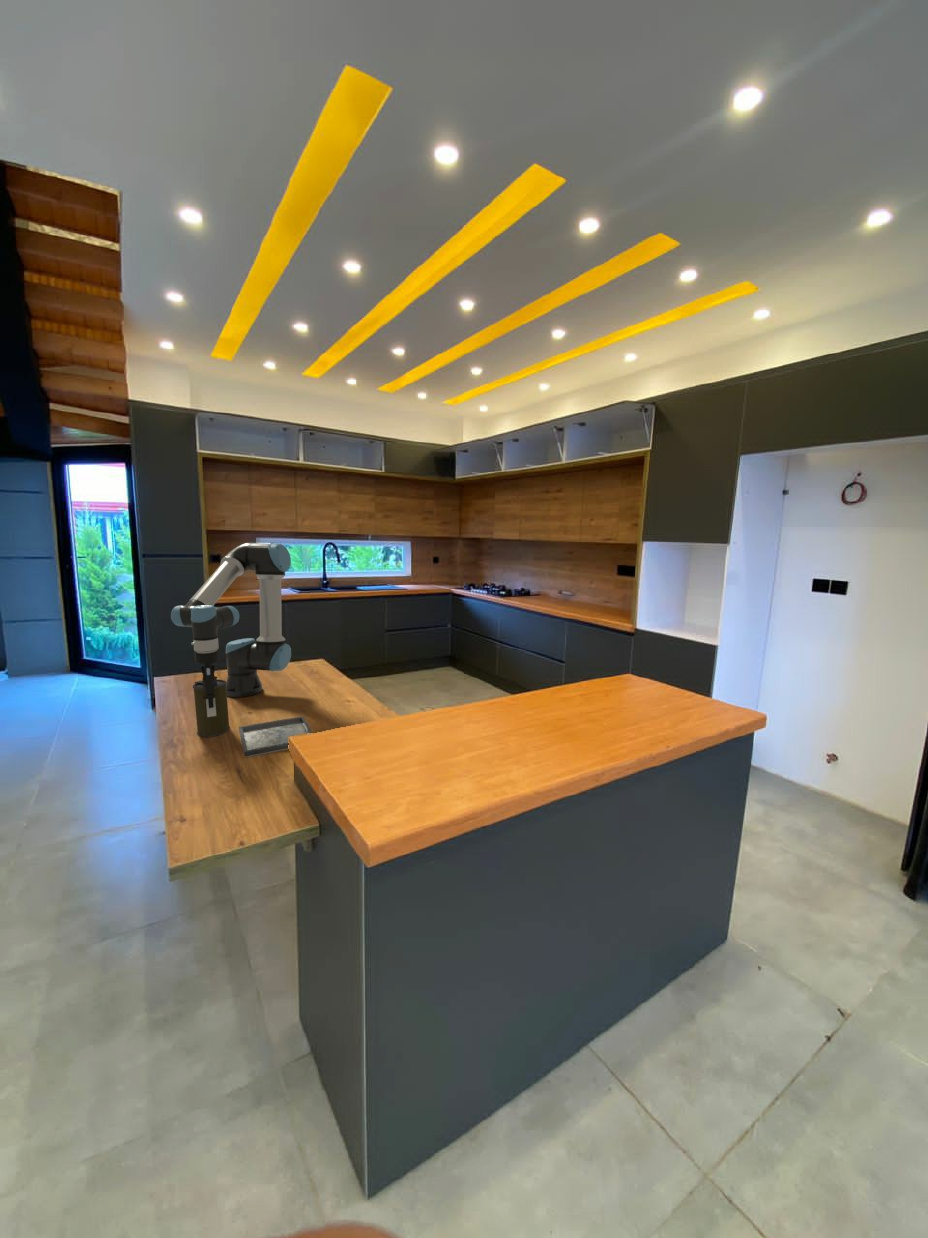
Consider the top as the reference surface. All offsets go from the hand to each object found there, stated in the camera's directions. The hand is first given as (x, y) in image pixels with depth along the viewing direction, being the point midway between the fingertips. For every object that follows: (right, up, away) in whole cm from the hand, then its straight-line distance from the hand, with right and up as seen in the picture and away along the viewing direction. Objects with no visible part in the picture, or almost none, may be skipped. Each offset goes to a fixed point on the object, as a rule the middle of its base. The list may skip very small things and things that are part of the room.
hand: (211, 709), depth 169 cm
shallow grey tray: (+24, -9, -3) cm, 26 cm away
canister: (0, -8, +2) cm, 8 cm away
